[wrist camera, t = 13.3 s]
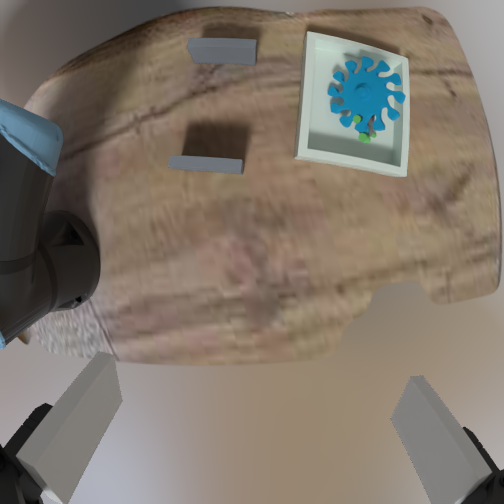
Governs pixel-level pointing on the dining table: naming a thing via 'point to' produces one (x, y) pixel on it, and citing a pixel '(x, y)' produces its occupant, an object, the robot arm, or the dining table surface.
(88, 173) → the dining table surface
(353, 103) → the gear
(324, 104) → the parts tray
